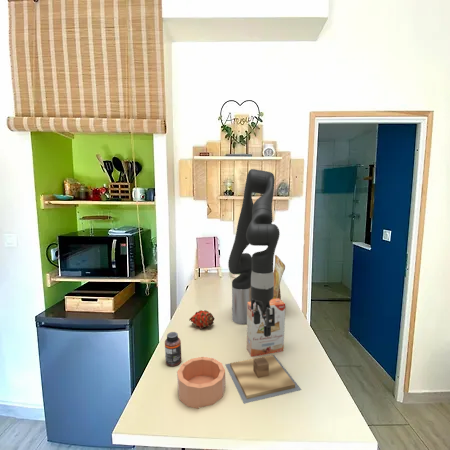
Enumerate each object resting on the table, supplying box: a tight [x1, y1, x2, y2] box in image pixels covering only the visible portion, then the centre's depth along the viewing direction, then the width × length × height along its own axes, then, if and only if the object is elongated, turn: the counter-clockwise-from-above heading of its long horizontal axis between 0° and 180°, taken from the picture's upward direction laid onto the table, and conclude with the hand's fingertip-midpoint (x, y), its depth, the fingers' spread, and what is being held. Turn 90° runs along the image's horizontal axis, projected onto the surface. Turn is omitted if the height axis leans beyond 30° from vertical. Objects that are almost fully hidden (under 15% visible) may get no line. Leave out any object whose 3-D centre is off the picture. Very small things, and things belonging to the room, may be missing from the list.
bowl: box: [176, 356, 226, 410], centre depth 95 cm, size 15×15×7 cm
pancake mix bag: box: [273, 254, 286, 301], centre depth 151 cm, size 7×19×28 cm, turn 176°
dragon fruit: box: [189, 309, 215, 330], centre depth 137 cm, size 8×8×12 cm
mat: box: [225, 354, 302, 404], centre depth 101 cm, size 20×20×1 cm
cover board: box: [229, 354, 295, 399], centre depth 101 cm, size 17×17×6 cm
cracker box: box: [246, 298, 286, 358], centre depth 115 cm, size 14×6×21 cm, turn 105°
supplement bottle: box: [164, 331, 182, 367], centre depth 110 cm, size 6×6×11 cm
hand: (261, 329), depth 99 cm, fingers open, 8 cm apart
